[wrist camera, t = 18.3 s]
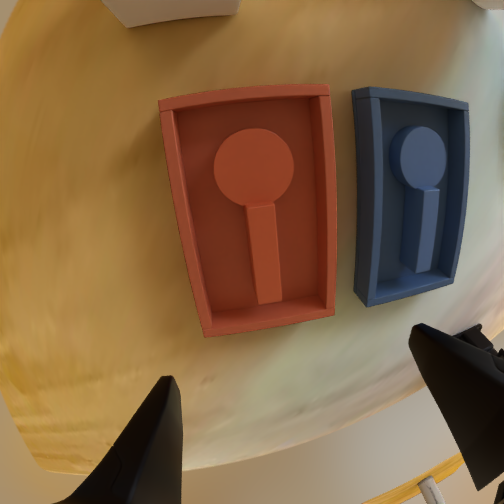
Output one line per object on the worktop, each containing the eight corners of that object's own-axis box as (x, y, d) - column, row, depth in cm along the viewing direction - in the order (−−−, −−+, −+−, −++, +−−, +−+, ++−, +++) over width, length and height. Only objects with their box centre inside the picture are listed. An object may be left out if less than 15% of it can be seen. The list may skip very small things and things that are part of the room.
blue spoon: (426, 254, 22) (443, 267, 20) (384, 263, 21) (399, 278, 19) (433, 127, 17) (454, 130, 15) (387, 124, 17) (407, 125, 15)
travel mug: (426, 480, 68) (443, 515, 50) (414, 485, 67) (431, 522, 49) (435, 473, 66) (453, 509, 48) (423, 478, 64) (442, 516, 46)
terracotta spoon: (295, 279, 21) (304, 297, 19) (232, 290, 21) (234, 309, 18) (284, 125, 16) (294, 124, 14) (208, 133, 16) (207, 133, 14)
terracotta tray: (323, 297, 22) (334, 315, 20) (204, 317, 22) (204, 337, 20) (315, 89, 16) (329, 84, 14) (165, 104, 15) (157, 100, 13)
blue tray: (437, 271, 23) (453, 283, 21) (353, 291, 23) (366, 308, 20) (447, 102, 17) (468, 102, 15) (351, 90, 16) (369, 86, 14)
